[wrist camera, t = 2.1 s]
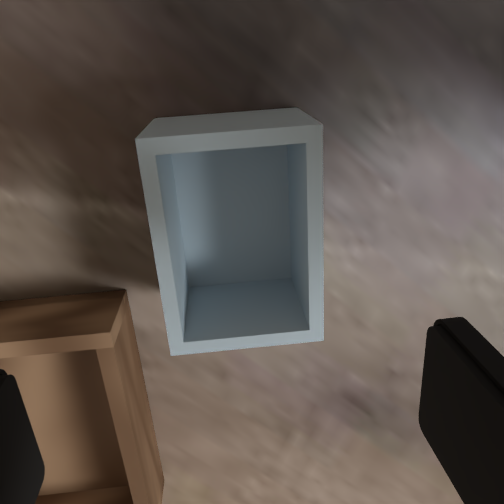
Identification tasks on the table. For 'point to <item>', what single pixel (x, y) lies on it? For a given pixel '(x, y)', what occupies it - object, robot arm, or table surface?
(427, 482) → the table surface
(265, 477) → the table surface
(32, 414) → the walnut crate
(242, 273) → the bluegrey crate
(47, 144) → the table surface
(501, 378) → the robot arm
